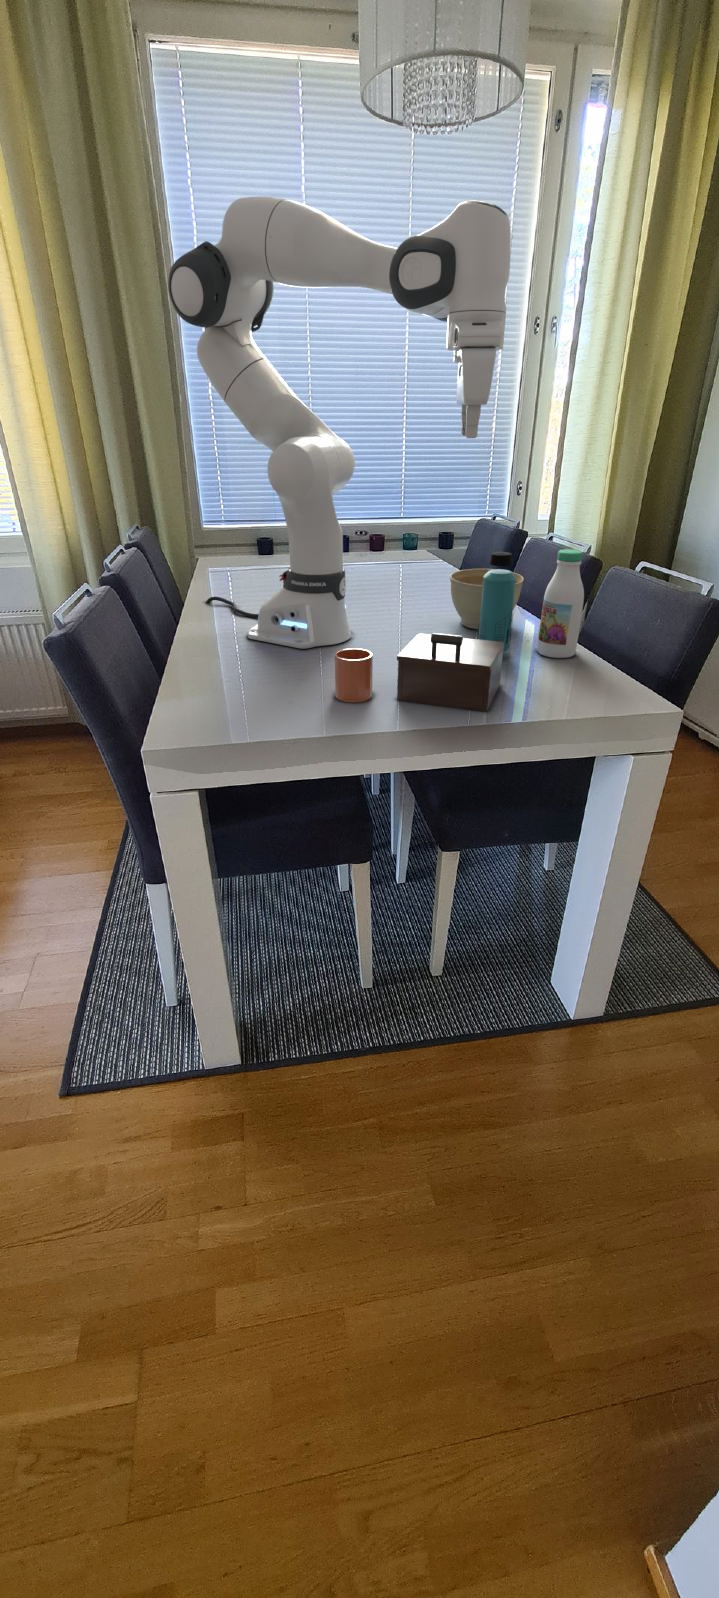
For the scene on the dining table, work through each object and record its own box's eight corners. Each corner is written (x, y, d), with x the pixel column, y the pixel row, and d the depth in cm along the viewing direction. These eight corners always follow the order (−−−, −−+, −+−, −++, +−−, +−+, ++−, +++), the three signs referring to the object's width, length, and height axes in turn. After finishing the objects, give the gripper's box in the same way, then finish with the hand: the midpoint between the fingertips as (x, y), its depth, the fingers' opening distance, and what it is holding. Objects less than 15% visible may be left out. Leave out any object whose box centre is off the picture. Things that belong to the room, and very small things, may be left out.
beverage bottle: (508, 661, 137) (520, 556, 127) (474, 659, 138) (483, 555, 128) (509, 651, 143) (520, 549, 133) (476, 649, 144) (485, 548, 134)
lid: (490, 671, 111) (492, 642, 109) (396, 660, 115) (397, 633, 113) (503, 646, 122) (506, 620, 120) (418, 637, 126) (419, 612, 124)
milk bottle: (557, 645, 146) (572, 545, 136) (583, 655, 140) (600, 552, 130) (528, 650, 143) (541, 549, 133) (553, 661, 137) (569, 556, 127)
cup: (330, 699, 120) (329, 657, 116) (343, 687, 125) (342, 646, 121) (365, 704, 118) (365, 662, 114) (376, 691, 123) (377, 650, 119)
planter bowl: (433, 625, 159) (435, 577, 153) (471, 611, 169) (475, 565, 164) (494, 639, 149) (499, 588, 144) (530, 623, 160) (536, 575, 155)
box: (486, 711, 115) (490, 669, 112) (397, 699, 120) (398, 658, 116) (499, 685, 126) (503, 646, 122) (416, 675, 130) (418, 637, 126)
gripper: (451, 341, 117) (446, 434, 124) (459, 331, 99) (453, 439, 106) (488, 341, 117) (482, 434, 124) (503, 330, 99) (494, 439, 106)
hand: (468, 436), depth 115 cm, fingers open, 8 cm apart
